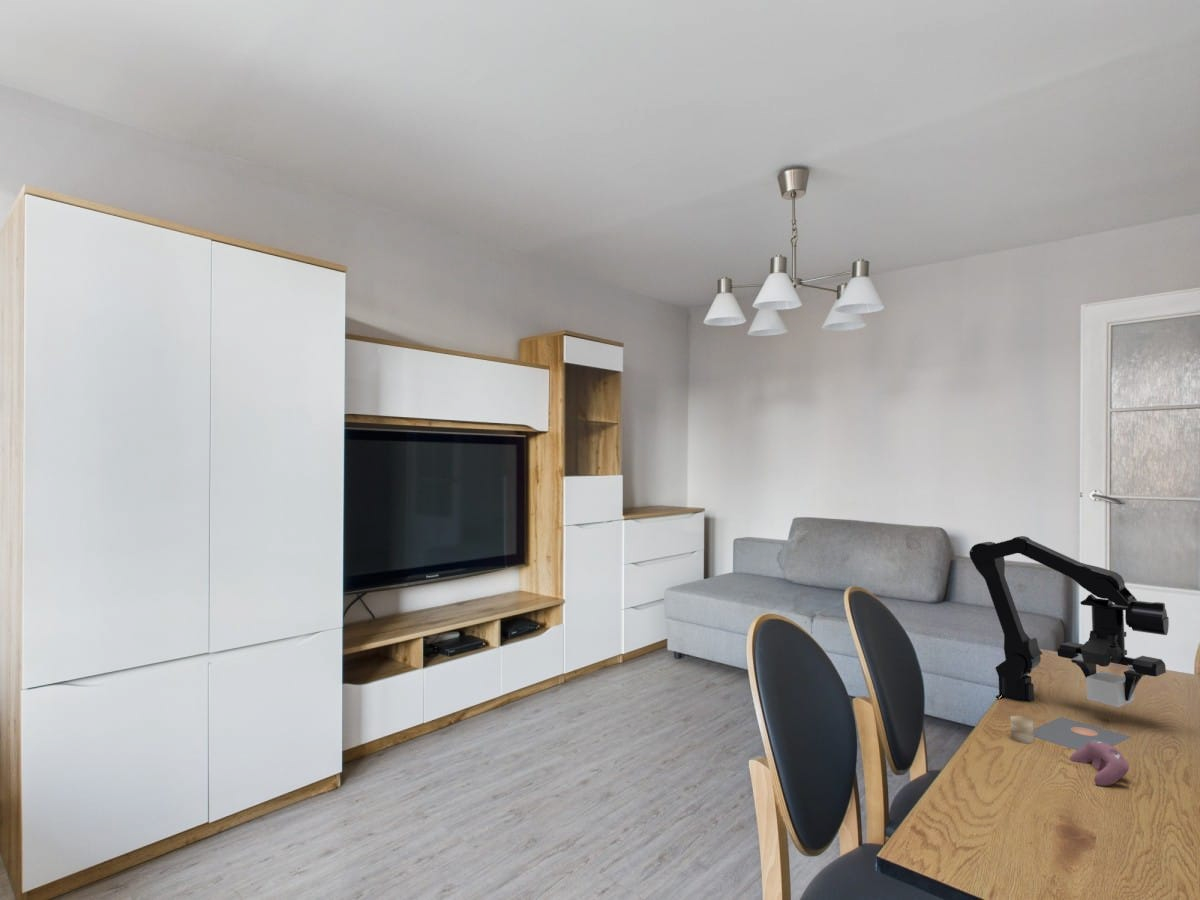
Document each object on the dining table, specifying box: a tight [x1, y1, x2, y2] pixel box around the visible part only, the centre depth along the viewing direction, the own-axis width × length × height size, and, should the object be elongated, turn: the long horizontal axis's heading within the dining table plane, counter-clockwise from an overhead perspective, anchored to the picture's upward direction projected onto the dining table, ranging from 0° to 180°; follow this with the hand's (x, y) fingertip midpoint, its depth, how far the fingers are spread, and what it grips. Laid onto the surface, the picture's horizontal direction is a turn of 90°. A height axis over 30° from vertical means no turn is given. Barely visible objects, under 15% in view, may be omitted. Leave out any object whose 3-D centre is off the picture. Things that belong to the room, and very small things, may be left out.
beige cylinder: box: [1010, 715, 1035, 744], centre depth 135 cm, size 4×4×5 cm
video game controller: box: [1069, 740, 1130, 787], centre depth 121 cm, size 10×5×7 cm, turn 169°
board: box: [1033, 716, 1132, 751], centre depth 137 cm, size 13×17×1 cm
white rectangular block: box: [1085, 671, 1135, 708], centre depth 146 cm, size 6×8×5 cm
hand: (1110, 696), depth 146 cm, fingers closed on white rectangular block, 6 cm apart
